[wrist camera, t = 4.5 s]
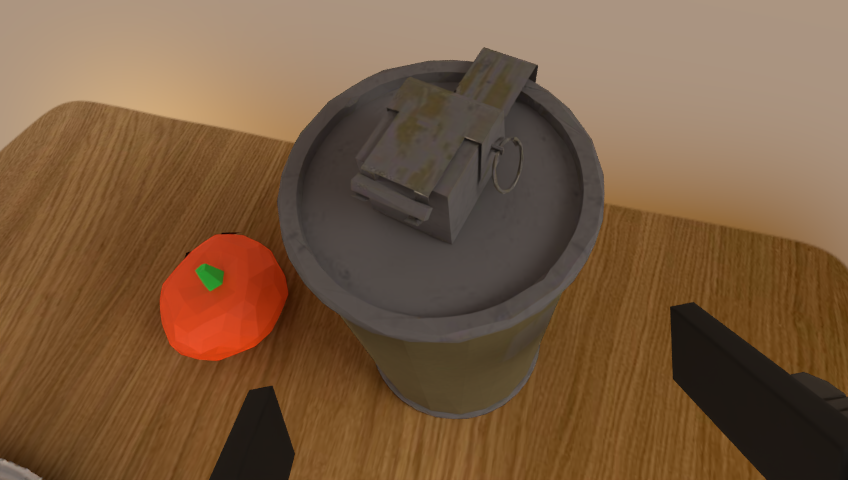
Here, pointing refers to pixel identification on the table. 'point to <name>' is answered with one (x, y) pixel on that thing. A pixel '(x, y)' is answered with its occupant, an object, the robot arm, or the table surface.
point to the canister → (444, 223)
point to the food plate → (15, 472)
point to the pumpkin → (222, 298)
